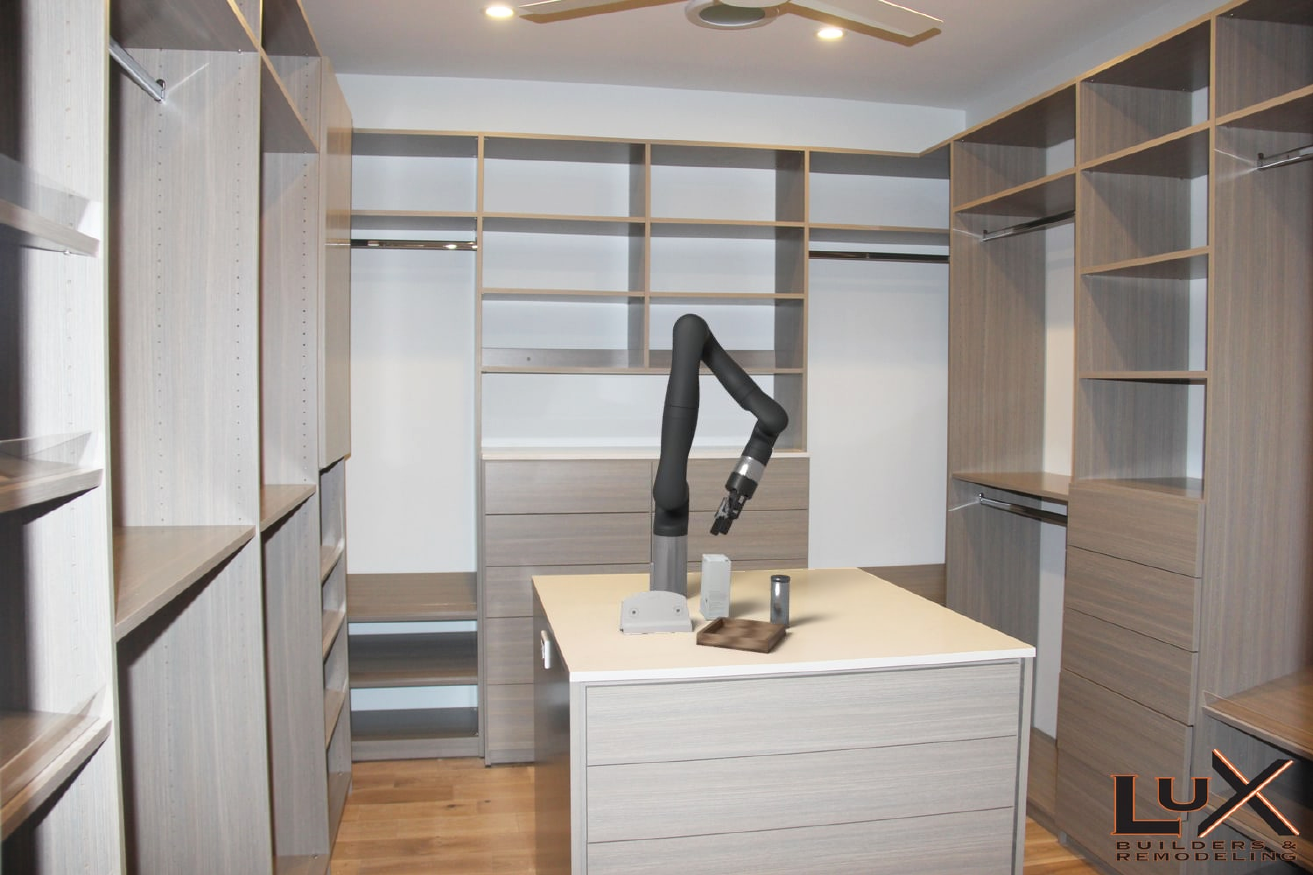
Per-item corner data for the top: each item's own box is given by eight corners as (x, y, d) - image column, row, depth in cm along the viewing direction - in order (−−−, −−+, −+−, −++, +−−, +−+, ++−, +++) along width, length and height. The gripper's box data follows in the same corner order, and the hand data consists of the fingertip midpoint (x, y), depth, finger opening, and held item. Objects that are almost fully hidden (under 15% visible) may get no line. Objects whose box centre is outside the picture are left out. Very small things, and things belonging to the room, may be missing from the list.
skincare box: (699, 612, 226) (700, 553, 225) (722, 611, 227) (723, 553, 226) (706, 621, 218) (707, 559, 217) (730, 620, 219) (732, 559, 218)
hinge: (622, 635, 205) (620, 590, 207) (619, 636, 209) (617, 593, 212) (694, 631, 208) (691, 588, 211) (689, 633, 213) (686, 590, 215)
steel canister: (767, 628, 212) (768, 577, 212) (772, 623, 216) (773, 573, 216) (786, 630, 211) (787, 579, 210) (791, 625, 215) (792, 575, 214)
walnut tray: (696, 644, 198) (696, 633, 198) (719, 626, 213) (719, 616, 213) (767, 653, 192) (767, 641, 192) (785, 634, 207) (785, 623, 207)
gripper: (725, 473, 237) (697, 528, 234) (740, 467, 224) (711, 526, 220) (749, 486, 238) (722, 541, 235) (766, 482, 224) (738, 540, 221)
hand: (717, 534), depth 228 cm, fingers open, 8 cm apart
